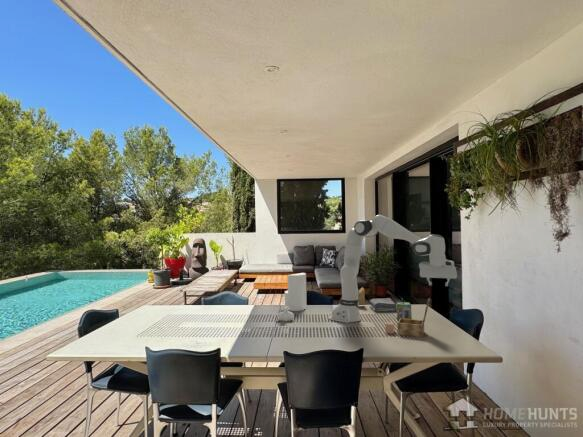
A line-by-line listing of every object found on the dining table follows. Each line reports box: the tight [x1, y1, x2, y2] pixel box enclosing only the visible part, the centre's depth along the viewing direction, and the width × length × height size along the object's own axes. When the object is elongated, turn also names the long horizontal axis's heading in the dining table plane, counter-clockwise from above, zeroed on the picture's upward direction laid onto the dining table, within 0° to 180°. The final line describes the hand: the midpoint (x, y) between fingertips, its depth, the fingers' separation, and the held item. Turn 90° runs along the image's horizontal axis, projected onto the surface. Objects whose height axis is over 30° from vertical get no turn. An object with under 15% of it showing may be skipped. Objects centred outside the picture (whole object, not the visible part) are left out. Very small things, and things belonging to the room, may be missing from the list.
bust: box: [276, 305, 295, 322], centre depth 236 cm, size 12×8×11 cm, turn 92°
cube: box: [384, 321, 395, 334], centre depth 209 cm, size 4×4×6 cm
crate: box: [397, 318, 425, 338], centre depth 207 cm, size 14×11×7 cm
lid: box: [422, 297, 431, 326], centre depth 203 cm, size 14×11×1 cm
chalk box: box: [395, 297, 413, 322], centre depth 235 cm, size 9×9×15 cm
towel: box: [369, 297, 397, 313], centre depth 266 cm, size 15×18×8 cm
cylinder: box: [284, 272, 308, 312], centre depth 272 cm, size 17×17×28 cm
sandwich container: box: [358, 286, 366, 308], centre depth 277 cm, size 9×15×15 cm, turn 91°
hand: (438, 285), depth 200 cm, fingers open, 7 cm apart
